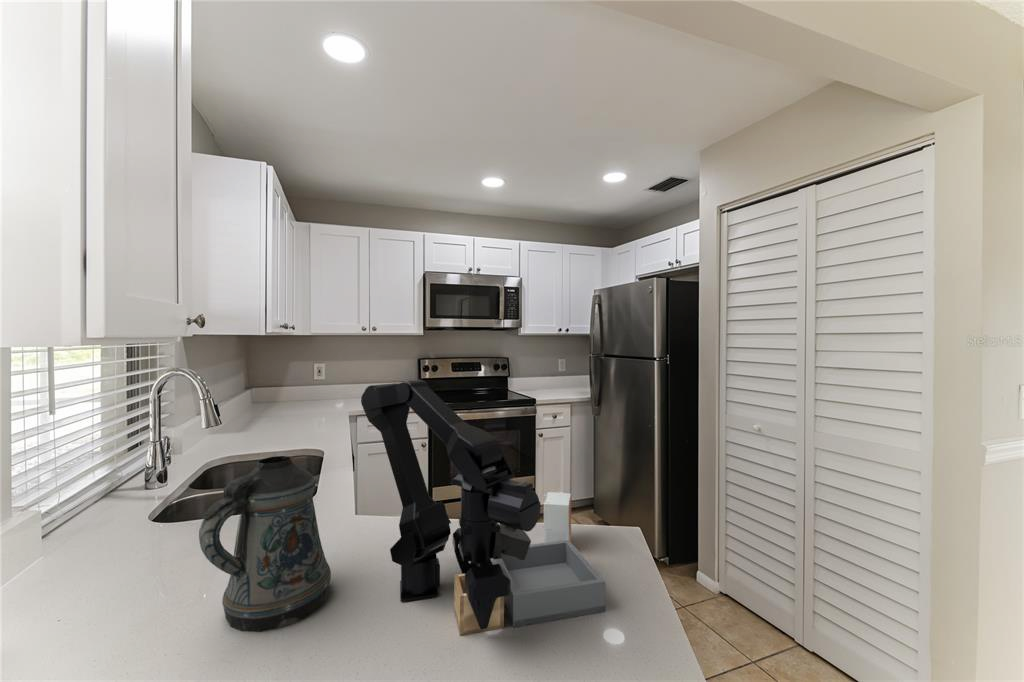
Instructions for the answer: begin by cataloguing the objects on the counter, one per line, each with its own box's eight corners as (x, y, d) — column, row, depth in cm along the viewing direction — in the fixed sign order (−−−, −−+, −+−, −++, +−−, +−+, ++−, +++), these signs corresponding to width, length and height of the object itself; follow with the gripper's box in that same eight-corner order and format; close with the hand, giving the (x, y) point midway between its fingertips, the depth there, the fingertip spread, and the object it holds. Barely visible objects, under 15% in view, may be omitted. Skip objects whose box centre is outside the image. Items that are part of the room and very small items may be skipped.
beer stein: (345, 577, 83) (346, 447, 83) (291, 648, 63) (292, 478, 64) (261, 576, 83) (261, 446, 84) (181, 646, 64) (182, 477, 64)
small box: (569, 555, 92) (569, 505, 92) (543, 552, 93) (543, 503, 93) (571, 538, 100) (571, 493, 100) (547, 536, 101) (547, 491, 101)
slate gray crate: (513, 627, 68) (513, 595, 68) (491, 575, 84) (491, 549, 84) (605, 611, 72) (605, 581, 72) (568, 564, 88) (568, 539, 88)
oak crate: (459, 635, 66) (459, 596, 66) (454, 610, 73) (454, 575, 73) (503, 627, 68) (503, 589, 68) (494, 604, 74) (495, 569, 74)
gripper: (544, 533, 64) (543, 640, 63) (511, 491, 82) (511, 574, 82) (469, 542, 61) (468, 654, 61) (452, 497, 79) (452, 583, 79)
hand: (478, 610), depth 70 cm, fingers open, 9 cm apart
